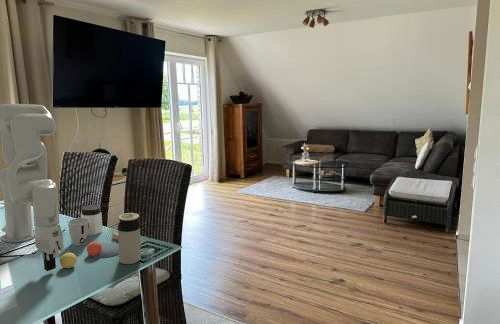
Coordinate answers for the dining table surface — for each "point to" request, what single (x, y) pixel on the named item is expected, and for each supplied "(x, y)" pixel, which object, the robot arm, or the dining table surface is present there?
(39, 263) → the dining table surface
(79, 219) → the cup
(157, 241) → the dining table surface
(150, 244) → the dining table surface
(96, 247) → the red ball
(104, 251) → the slate mark
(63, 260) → the ochre ball
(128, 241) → the travel mug
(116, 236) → the wooden stick
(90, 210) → the jar
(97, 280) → the dining table surface
